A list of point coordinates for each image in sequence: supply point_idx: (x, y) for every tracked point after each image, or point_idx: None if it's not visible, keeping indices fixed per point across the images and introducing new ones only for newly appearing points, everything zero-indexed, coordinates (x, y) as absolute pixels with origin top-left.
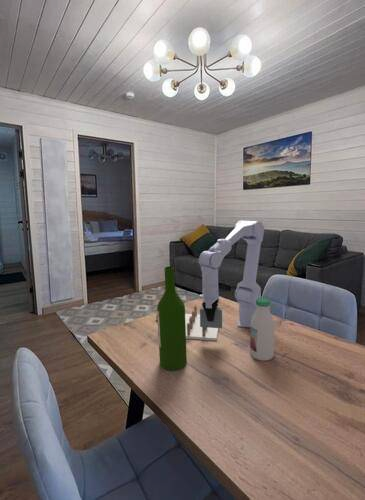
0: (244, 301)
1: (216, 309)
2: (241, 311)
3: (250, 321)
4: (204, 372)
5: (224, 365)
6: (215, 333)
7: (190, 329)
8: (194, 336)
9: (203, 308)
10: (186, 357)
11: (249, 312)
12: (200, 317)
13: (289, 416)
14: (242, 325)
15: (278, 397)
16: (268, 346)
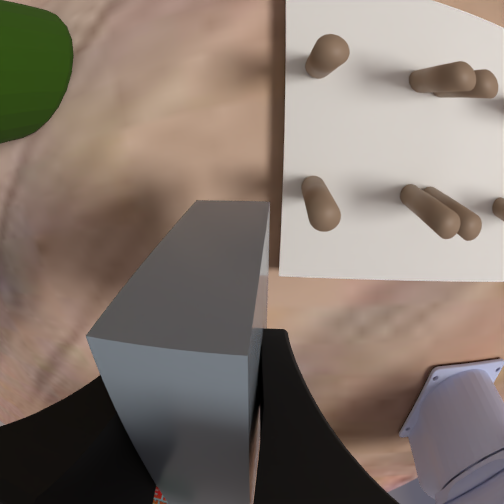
0: (480, 487)
1: (178, 498)
2: (466, 435)
3: (424, 427)
4: (9, 225)
5: (68, 299)
6: (346, 267)
7: (401, 77)
8: (288, 115)
9: (151, 399)
10: (8, 140)
11: (437, 462)
12: (157, 253)
13: (3, 388)
14: (431, 385)
15: (29, 393)
16: None
